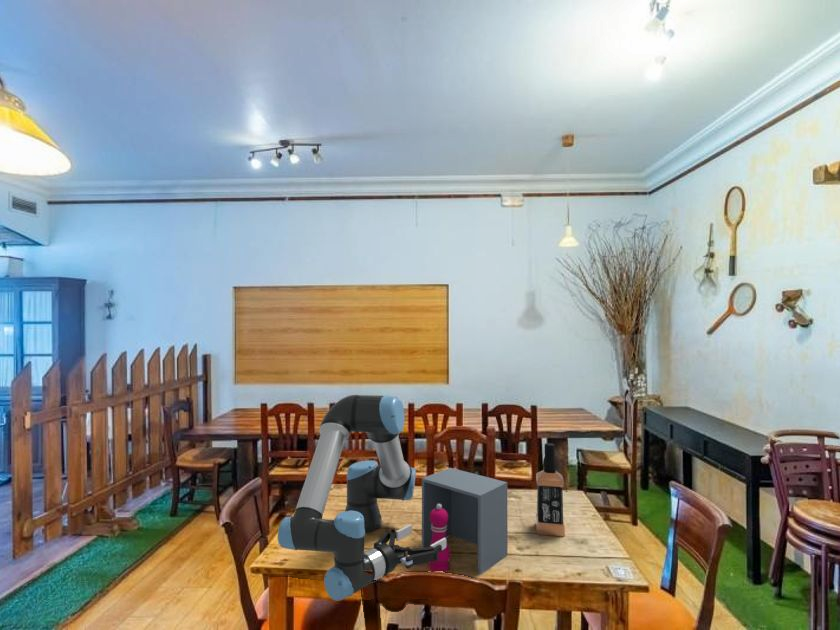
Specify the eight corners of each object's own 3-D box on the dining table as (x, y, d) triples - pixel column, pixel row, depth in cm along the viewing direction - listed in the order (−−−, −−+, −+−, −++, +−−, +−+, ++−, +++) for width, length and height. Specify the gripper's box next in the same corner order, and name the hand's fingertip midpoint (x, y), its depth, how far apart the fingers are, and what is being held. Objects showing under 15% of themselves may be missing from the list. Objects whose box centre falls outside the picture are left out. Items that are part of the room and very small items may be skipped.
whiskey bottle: (565, 537, 165) (564, 448, 166) (537, 534, 167) (536, 446, 168) (562, 524, 175) (561, 441, 176) (535, 522, 177) (535, 439, 178)
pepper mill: (431, 575, 139) (431, 509, 139) (424, 563, 146) (425, 500, 146) (453, 572, 141) (453, 507, 141) (446, 560, 148) (446, 498, 148)
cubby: (421, 549, 155) (421, 478, 156) (450, 533, 167) (450, 467, 168) (480, 574, 139) (480, 495, 140) (507, 555, 151) (507, 482, 152)
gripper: (347, 560, 131) (398, 535, 147) (411, 594, 114) (460, 561, 130) (347, 534, 131) (398, 512, 147) (411, 564, 115) (461, 535, 131)
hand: (427, 535), depth 139 cm, fingers open, 13 cm apart
